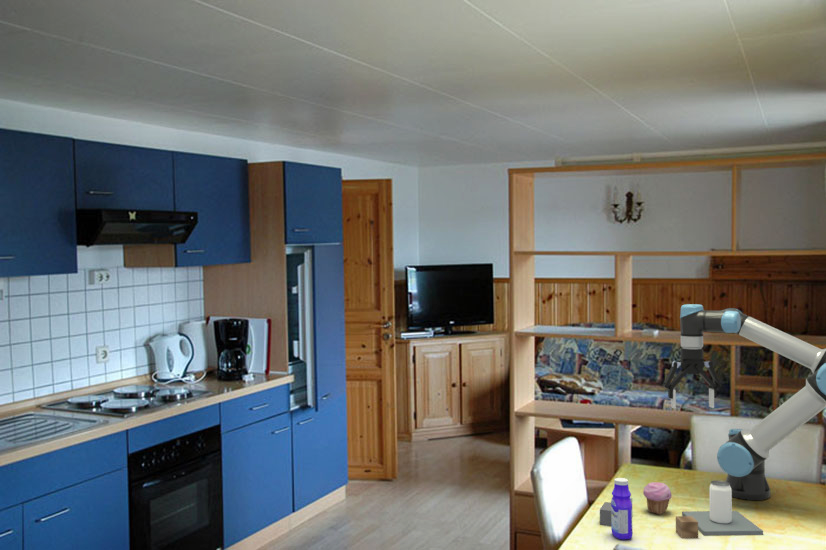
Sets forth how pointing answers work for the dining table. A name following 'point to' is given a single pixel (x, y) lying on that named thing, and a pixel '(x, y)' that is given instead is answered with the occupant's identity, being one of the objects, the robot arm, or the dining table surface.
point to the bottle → (621, 510)
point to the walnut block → (686, 527)
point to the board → (736, 527)
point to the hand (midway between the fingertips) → (692, 407)
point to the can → (720, 502)
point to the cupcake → (657, 497)
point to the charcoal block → (605, 514)
